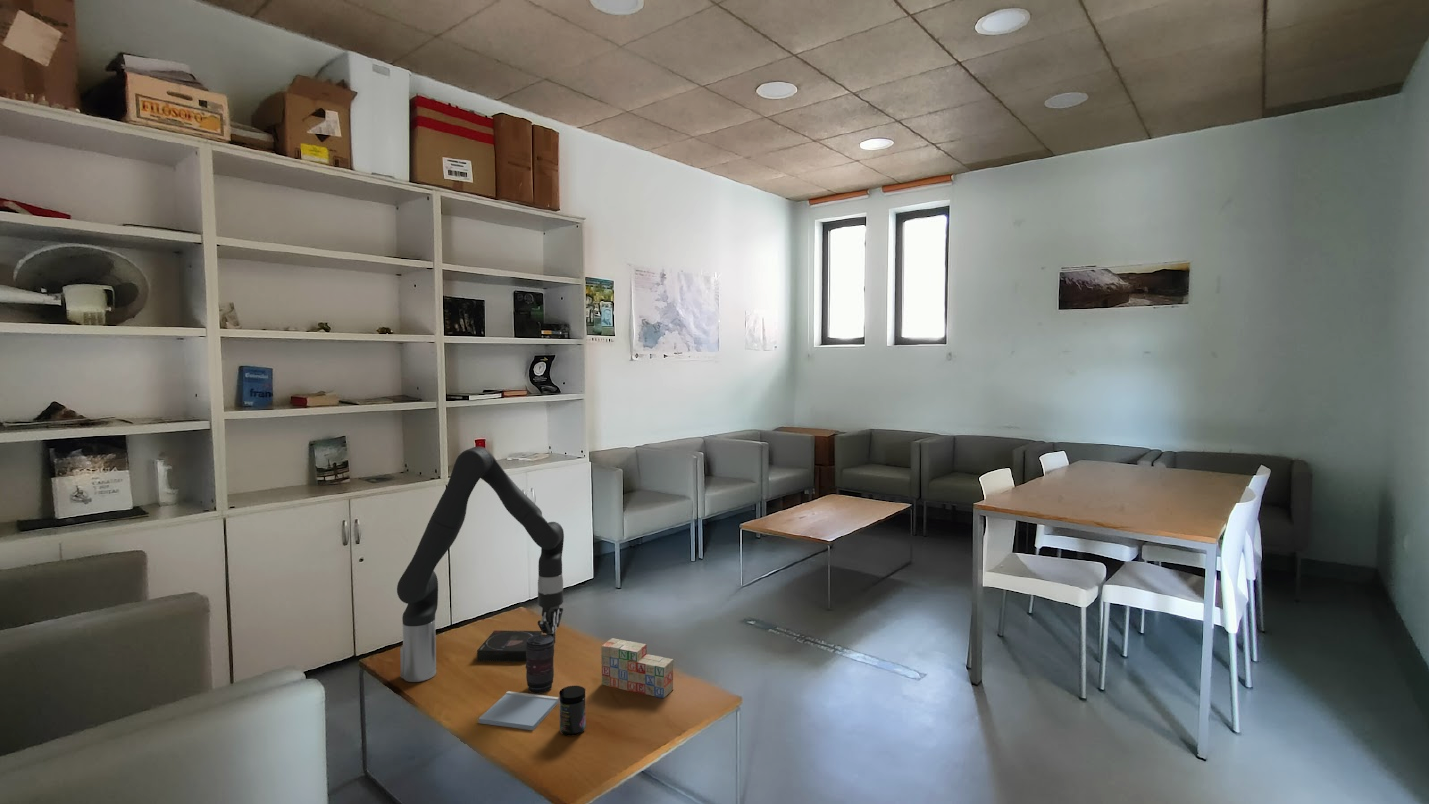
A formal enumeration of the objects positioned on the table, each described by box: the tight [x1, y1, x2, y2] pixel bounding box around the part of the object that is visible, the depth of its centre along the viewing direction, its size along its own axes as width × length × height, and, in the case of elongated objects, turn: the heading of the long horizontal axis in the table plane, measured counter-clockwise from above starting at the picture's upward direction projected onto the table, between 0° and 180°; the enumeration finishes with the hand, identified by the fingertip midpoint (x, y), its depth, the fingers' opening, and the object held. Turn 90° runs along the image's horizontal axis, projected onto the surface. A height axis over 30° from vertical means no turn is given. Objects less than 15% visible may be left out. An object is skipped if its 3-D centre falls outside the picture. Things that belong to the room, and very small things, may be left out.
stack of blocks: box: [600, 637, 674, 699], centre depth 200 cm, size 21×6×12 cm, turn 66°
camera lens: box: [525, 633, 555, 694], centre depth 198 cm, size 8×8×15 cm
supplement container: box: [558, 685, 586, 737], centre depth 176 cm, size 7×7×10 cm
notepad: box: [478, 690, 559, 731], centre depth 185 cm, size 16×15×2 cm
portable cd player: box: [476, 630, 543, 663], centre depth 225 cm, size 16×17×4 cm
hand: (550, 644), depth 205 cm, fingers closed
